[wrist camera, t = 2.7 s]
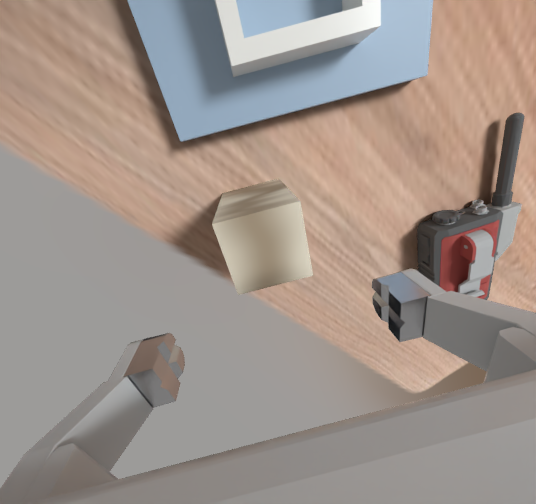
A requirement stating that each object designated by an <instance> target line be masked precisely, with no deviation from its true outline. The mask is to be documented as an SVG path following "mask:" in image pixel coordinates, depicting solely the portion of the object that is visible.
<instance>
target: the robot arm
mask: <svg viewBox="0 0 536 504" xmlns="http://www.w3.org/2000/svg"><path fill="white" fill-rule="evenodd" d="M372 288H373V289H374V290H375V291H376V292H375V294H374V295H373V305H374V308H375V311H376V313H377V314H378V316H379V317H380V318H381V320H383V321H385V322H388V324H389V330H390V331H391V332H392V333H393V335H394V336H395V337H396V338H397V339H398V341H399V342H402V341H407V340H411V339H415V338H419V337H423V338H425V339H426V340H428V341H430V342H432V343H434V344H436V345H438V346H440V347H441V348H443V349H445V350H447V351H449V352H451V353H453V354H455V355H457V356H458V357H460V358H462V359H464V360H466V361H468V362H470V363H472V364H474V365H475V366H477V367H479V368H481V369H483V370H485V371H487V373H486V376H485V379H484V383H483V384H479V385H475V386H471V387H467V388H464V389H460V390H456V391H452V392H448V393H445V394H441V395H437V396H433V397H429V398H425V399H422V400H418V401H414V402H410V403H407V404H403V405H399V406H395V407H391V408H387V409H384V410H380V411H376V412H372V413H368V414H365V415H361V416H357V417H353V418H349V419H346V420H342V421H338V422H334V423H331V424H327V425H323V426H319V427H315V428H312V429H308V430H304V431H300V432H296V433H292V434H289V435H285V436H281V437H277V438H274V439H270V440H266V441H262V442H258V443H255V444H251V445H247V446H243V447H239V448H236V449H232V450H228V451H224V452H221V453H217V454H213V455H209V456H206V457H202V458H198V459H194V460H190V461H186V462H183V463H179V464H175V465H171V466H167V467H163V468H160V469H156V470H152V471H148V472H144V473H141V474H137V475H133V476H129V477H125V478H122V479H118V478H116V477H115V476H114V475H113V474H111V473H110V470H111V469H112V468H113V466H114V464H115V463H116V462H117V460H118V459H119V457H120V456H121V455H122V453H123V452H124V450H125V449H126V447H127V446H128V445H129V443H130V442H131V440H132V439H133V437H134V436H135V434H136V433H137V432H138V430H139V429H140V427H141V426H142V424H143V423H144V421H145V420H146V418H147V417H148V416H149V414H150V413H151V412H152V410H153V408H154V407H157V406H160V405H164V404H168V403H171V402H174V401H176V398H177V394H178V390H179V386H180V382H179V380H178V378H179V377H180V375H181V374H182V373H183V370H184V366H185V364H184V363H185V362H184V355H183V351H182V350H181V348H180V347H178V346H176V345H174V343H175V338H174V336H173V335H172V334H170V333H167V334H163V335H159V336H155V337H150V338H146V339H143V340H139V341H135V342H132V343H130V344H129V345H128V346H127V348H126V350H125V351H124V353H123V355H122V357H121V358H120V360H119V362H118V364H117V366H116V367H115V369H114V371H113V373H112V374H111V376H110V378H109V380H108V381H107V382H103V383H102V384H101V385H100V386H99V387H98V388H97V389H96V390H95V391H93V392H92V393H91V394H90V395H89V396H88V397H87V398H86V399H85V400H84V401H82V402H81V403H80V404H79V405H78V406H77V407H76V408H75V409H74V410H72V411H71V412H70V413H69V414H68V415H67V416H66V417H65V418H64V419H63V420H61V421H60V422H59V423H58V424H57V425H56V426H55V427H54V428H53V429H52V430H50V431H49V432H48V433H47V434H46V435H45V436H44V437H43V438H42V439H40V440H39V441H38V442H37V443H36V444H35V445H34V446H33V447H32V448H31V449H29V451H27V452H26V453H25V454H24V455H23V457H22V458H21V460H20V461H19V462H18V464H17V465H16V467H15V468H14V470H13V471H12V472H11V474H10V475H9V477H8V478H7V480H6V481H5V483H4V484H3V485H2V487H1V488H0V504H536V313H534V312H530V311H527V310H523V309H519V308H515V307H511V306H507V305H504V304H500V303H496V302H492V301H488V300H484V299H481V298H477V297H473V296H469V295H465V294H461V293H458V292H454V291H448V292H446V291H445V290H443V289H442V288H441V287H439V286H438V285H436V284H435V283H433V282H432V281H431V280H429V279H428V278H426V277H425V276H424V275H422V274H421V273H419V272H418V271H417V270H415V269H412V268H411V269H407V270H404V271H400V272H398V273H394V274H390V275H387V276H383V277H379V278H376V279H373V281H372Z"/></svg>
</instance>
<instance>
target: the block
mask: <svg viewBox="0 0 536 504" xmlns="http://www.w3.org/2000/svg"><path fill="white" fill-rule="evenodd" d="M212 226H213V229H214V231H215V234H216V237H217V239H218V242H219V245H220V247H221V250H222V253H223V255H224V258H225V261H226V263H227V266H228V269H229V271H230V274H231V277H232V279H233V282H234V285H235V287H236V290H237V293H238V294H239V295H240V294H244V293H248V292H251V291H255V290H259V289H263V288H267V287H271V286H275V285H278V284H282V283H286V282H290V281H294V280H298V279H302V278H306V277H309V276H313V272H312V266H311V261H310V255H309V249H308V243H307V237H306V232H305V226H304V220H303V214H302V208H301V202H300V200H299V199H298V198H297V197H296V196H295V195H294V194H293V193H292V192H291V191H290V190H289V189H288V188H287V187H286V186H285V184H284V183H283V182H282V181H281V180H280V179H275V180H271V181H267V182H264V183H260V184H256V185H252V186H248V187H245V188H241V189H237V190H233V191H230V192H226V193H223V194H222V197H221V200H220V202H219V205H218V208H217V211H216V214H215V217H214V220H213V222H212Z"/></svg>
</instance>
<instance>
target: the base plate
mask: <svg viewBox="0 0 536 504" xmlns="http://www.w3.org/2000/svg"><path fill="white" fill-rule="evenodd" d="M127 1H128V3H129V6H130V9H131V11H132V14H133V17H134V19H135V22H136V25H137V27H138V30H139V33H140V35H141V38H142V41H143V43H144V46H145V49H146V51H147V54H148V57H149V59H150V62H151V65H152V67H153V70H154V73H155V75H156V78H157V81H158V83H159V86H160V89H161V91H162V94H163V97H164V99H165V102H166V105H167V107H168V110H169V113H170V115H171V118H172V121H173V123H174V126H175V129H176V131H177V134H178V137H179V139H180V142H181V141H188V140H192V139H196V138H199V137H203V136H207V135H211V134H214V133H218V132H222V131H225V130H229V129H233V128H237V127H240V126H244V125H248V124H252V123H255V122H259V121H263V120H266V119H270V118H274V117H278V116H281V115H285V114H289V113H293V112H296V111H300V110H304V109H307V108H311V107H315V106H319V105H322V104H326V103H330V102H334V101H337V100H341V99H345V98H348V97H352V96H356V95H360V94H363V93H367V92H371V91H375V90H378V89H382V88H386V87H389V86H393V85H397V84H401V83H404V82H408V81H412V80H415V79H418V78H421V77H424V76H427V73H428V59H429V46H430V32H431V19H432V5H433V0H127Z"/></svg>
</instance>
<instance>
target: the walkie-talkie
mask: <svg viewBox="0 0 536 504" xmlns="http://www.w3.org/2000/svg"><path fill="white" fill-rule="evenodd" d="M523 122H524V115H523V114H522V113H514V114H512V115H510V116H509V117H508V118H507V120H506V124H505V131H504V137H503V144H502V151H501V157H500V164H499V171H498V177H497V184H496V191H495V192H494V193H493V197H492V203H489V204H486V205H485V204H483V200H474V201H472V205H471V206H470V207H467V208H464V209H461V210H458V211H454V210H442V211H438V212H436V213H434V214H433V215H432V219H431V220H428V221H425V222H422V223H420V224H419V226H418V228H417V236H418V263H419V265H418V267H419V269H418V271H419V273H421V274H422V275H424V276H425V277H426V278H428V279H429V280H431V281H432V282H433V283H435V284H436V285H438V286H439V287H441V288H442V289H443V290H445V291H446V292H448V291H454V292H458V293H461V294H465V295H469V296H473V297H477V298H481V299H484V300H487V299H488V297H489V291H490V286H491V282H492V281H491V280H492V275H493V270H494V269H493V268H494V262H495V261H496V260H498V258H499V257H500V256H501V255H502V254H503V253H504V251H505V250H506V249H507V248H508V247H509V245H510V244H511V243H512V240H513V236H514V231H515V226H516V222H517V217H518V214H519V212H520V210H521V205H522V204H520V203H516V202H512V201H511V200H512V194H513V192H512V191H511V189H512V183H513V177H514V172H515V166H516V161H517V155H518V150H519V144H520V139H521V133H522V128H523Z"/></svg>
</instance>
